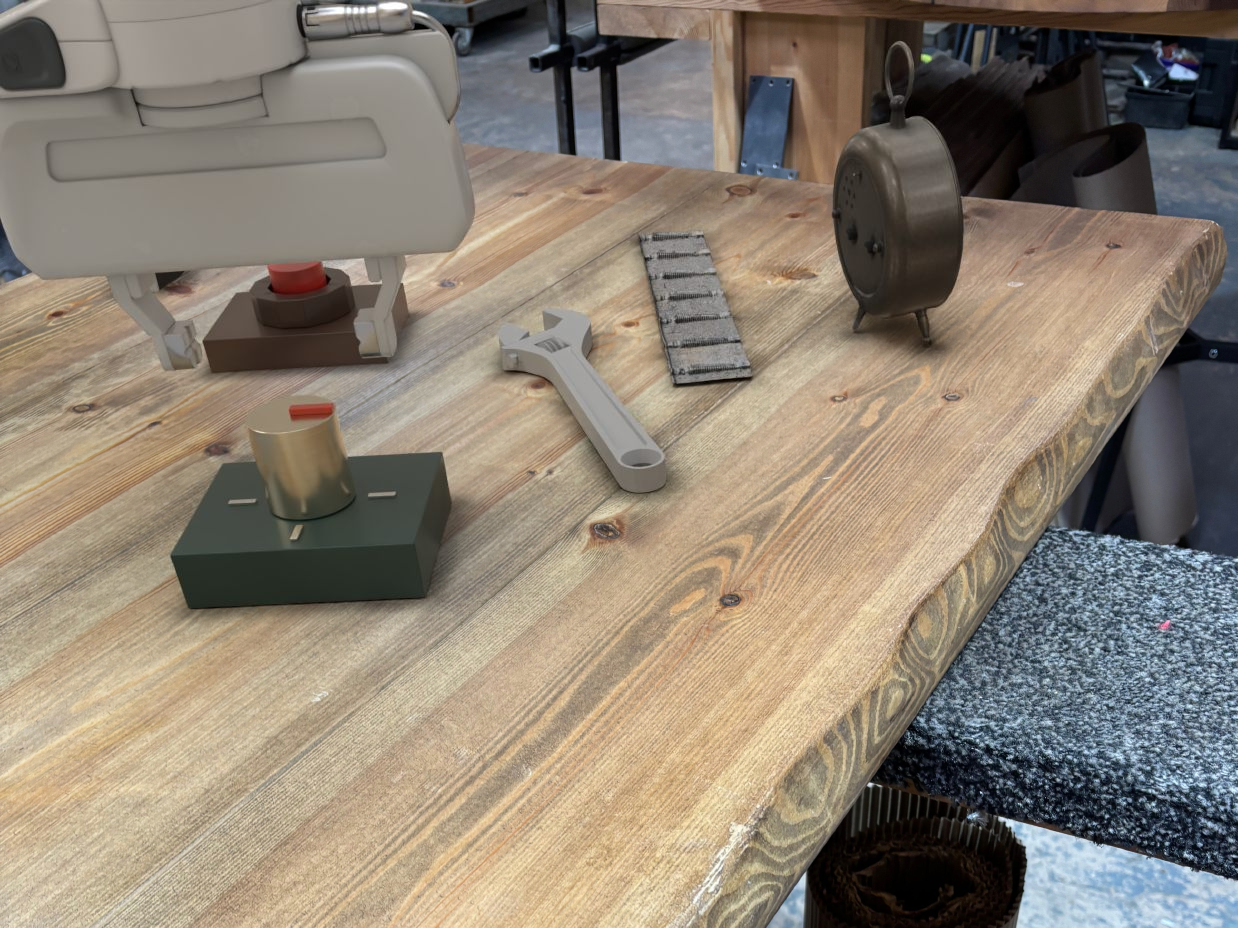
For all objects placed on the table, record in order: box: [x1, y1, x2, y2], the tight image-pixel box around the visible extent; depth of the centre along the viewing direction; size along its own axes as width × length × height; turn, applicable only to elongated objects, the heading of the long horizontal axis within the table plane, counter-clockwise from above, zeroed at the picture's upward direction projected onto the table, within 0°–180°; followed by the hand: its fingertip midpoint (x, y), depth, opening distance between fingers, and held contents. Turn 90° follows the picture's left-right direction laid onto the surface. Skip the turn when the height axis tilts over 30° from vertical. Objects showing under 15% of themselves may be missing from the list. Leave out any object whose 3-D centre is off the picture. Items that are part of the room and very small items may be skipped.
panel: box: [169, 451, 453, 609], centre depth 68 cm, size 12×10×3 cm
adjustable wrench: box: [497, 308, 667, 494], centre depth 81 cm, size 25×6×2 cm, turn 14°
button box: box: [201, 266, 410, 374], centre depth 91 cm, size 12×9×4 cm
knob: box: [244, 394, 355, 520], centre depth 66 cm, size 4×4×5 cm
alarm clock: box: [831, 40, 965, 348], centre depth 82 cm, size 11×5×16 cm, turn 17°
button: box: [266, 261, 327, 295], centre depth 89 cm, size 4×4×2 cm
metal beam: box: [637, 229, 754, 385], centre depth 93 cm, size 30×1×5 cm
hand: (281, 359), depth 63 cm, fingers open, 8 cm apart
